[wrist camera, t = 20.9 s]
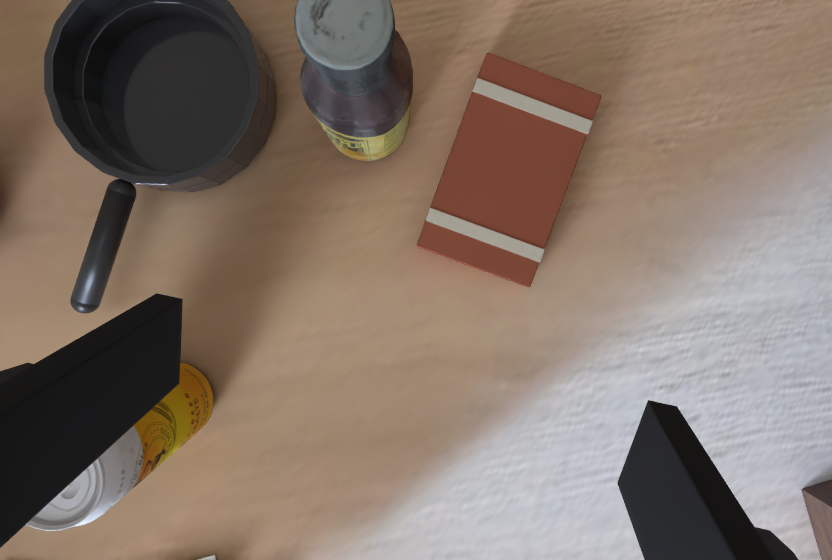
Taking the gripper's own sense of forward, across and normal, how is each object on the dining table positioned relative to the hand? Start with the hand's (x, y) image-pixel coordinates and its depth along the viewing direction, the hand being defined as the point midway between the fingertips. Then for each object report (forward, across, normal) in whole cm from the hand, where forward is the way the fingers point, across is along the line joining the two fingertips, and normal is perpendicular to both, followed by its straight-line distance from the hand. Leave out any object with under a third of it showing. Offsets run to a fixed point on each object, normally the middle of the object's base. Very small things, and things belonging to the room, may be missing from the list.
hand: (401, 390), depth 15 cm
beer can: (+22, +18, +18) cm, 33 cm away
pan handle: (+21, +23, +6) cm, 32 cm away
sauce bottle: (+29, +8, -5) cm, 30 cm away
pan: (+27, +22, -4) cm, 35 cm away
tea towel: (+29, -3, -3) cm, 30 cm away
